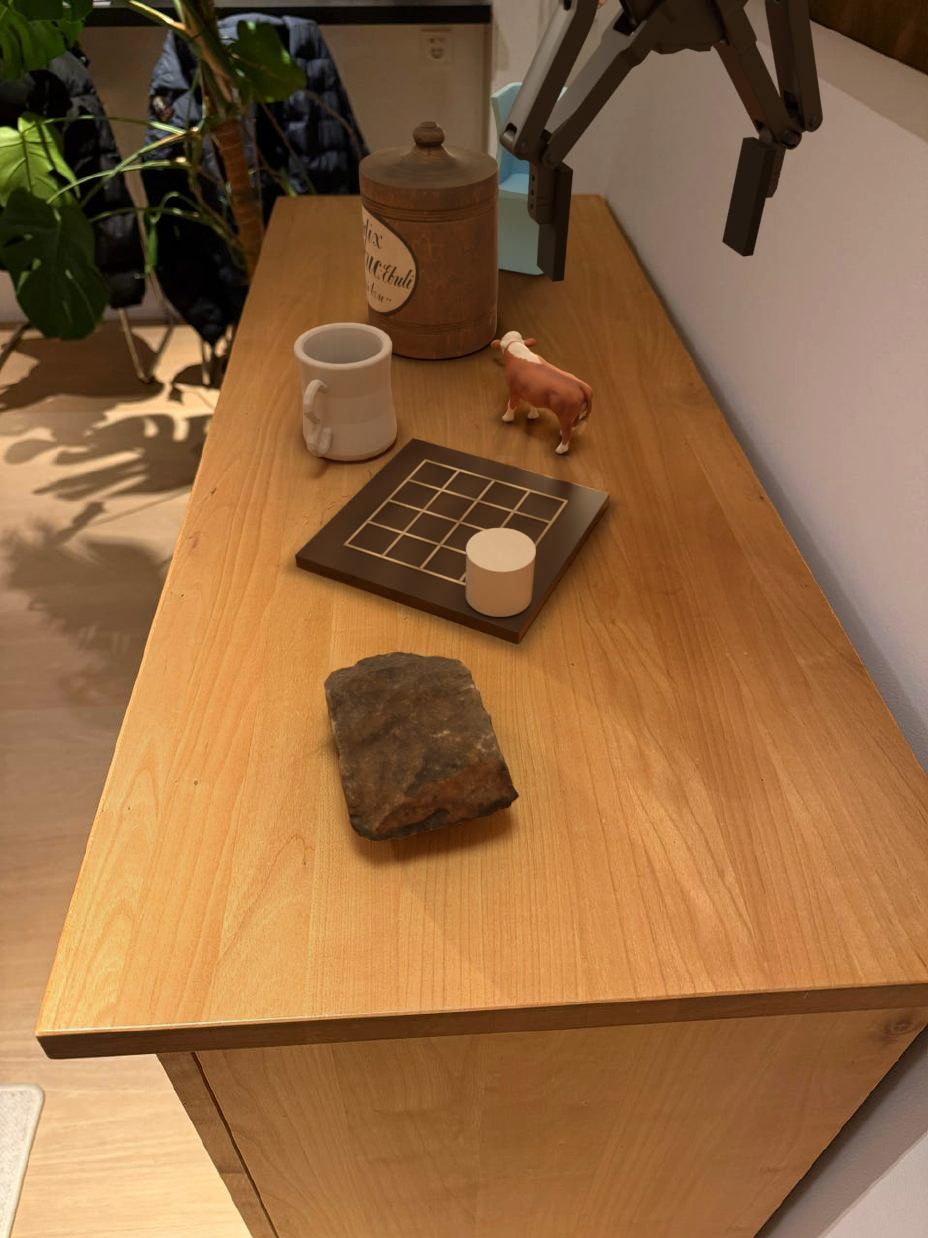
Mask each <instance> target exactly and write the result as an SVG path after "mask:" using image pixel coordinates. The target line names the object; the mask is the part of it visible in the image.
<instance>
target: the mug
mask: <svg viewBox="0 0 928 1238" xmlns="http://www.w3.org/2000/svg"><path fill="white" fill-rule="evenodd" d="M392 354H393V352H392V341H391V339H390V337H389V336H388V335H387V334H386V333H385V332H383V331H382V330H380V329H378V328H376V327H373V326H369V324H365V323H359V322H335V323H328V324H327V323H326V324H323V325H320V326H316V327H314V328H311V329H308V330H307V331H305V332H304V333H302V334H300V335H299V337H297V339H296V340H295V342H294V345H293V355H294V358H295V362H296V366H297V369H298V374H299V378H300V385H301V396H302V435H303V438H304V440H305V444H306V449H307V451H308V452H309V453H310V455H311V456H312V457H315V458H320V457H322V458H326V459H329V460H333V461H339V462H358V461H363V460H367V459H371V458H374V457H376V456H378V455H380V454H382V453H384V452H385V451H386V450H388V449H389V448H390V447H391V446H392V445H393V444H394V443H395V440H396V438H397V434H398V423H397V416H396V411H395V406H394V400H393V390H392V378H391V367H392Z"/></svg>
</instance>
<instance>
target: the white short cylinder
mask: <svg viewBox="0 0 928 1238" xmlns="http://www.w3.org/2000/svg"><path fill="white" fill-rule="evenodd" d="M535 558H536V548H535V545H534V543H533V541H532V540H531V539H530V538H529V537H528V536H526V535H525V534H523V533H521V532H519V531H516V530H513V529H507V528H492V529H487V530H483V531H481V532H479V533H477V534H475V535H474V536H473V537H471V539H470V540H469V541H468V543H467V546H466V584H465V596H466V599H467V601H468V603H469V604H470V606H471V607H472V608H473V609H475V610H476V611H478V612H480V613H482V614H485V615H488V616H494V617H507V616H512V615H515V614H518V613H520V612H522V611H523V610H525V609H526V608H527V607H528V606H529V604H530V602H531V600H532V594H533V582H534V570H535Z"/></svg>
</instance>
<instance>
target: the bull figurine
mask: <svg viewBox="0 0 928 1238" xmlns="http://www.w3.org/2000/svg"><path fill="white" fill-rule="evenodd" d="M535 346H537V340H535V338H532V337H531V338H530V337H529V338H527V339H524V340H523V338H522V334H520V332H518V331H516V330H513V331H508V332H507V333H505V335H504V336H502V338H501V339H495V340H494V339H493V340H492V341H491V342H490V347H491V348H492V350H499V349H501V353H502V354H503V361H504V363H503V364H504V368H505V378H504V379H505V384H506V386H507V388H508V389H509V401H508V403H507V411H506V413H505V414H504V415H503V416H502V417H501V421H502V422H504V423H508V422H511V421H514V420H515V410H516V409H517V407H518V403H519V401H520V400H522V401H523V402H527V404H528V405H530V409H529V412H528V414H527V418H528V419H529V420H533V419H539V417H540V415H539V412H538V411H540V412H545V414H546V416H547V417H548V418H550V417H552V415H553V414H555V416H556V417H557V420H558V422H559V426H560V427H559V428H560V430H559V431H558V435H559V436H560V437H561V442H560V444H559V445H558V447H556V448H555V450H554V451H555V453H556V454H559V455H561V454H564V453H566V452H567V451H569V444H570V440H571V438H572V437H573V435H574V430H575V429H576V433H577V434H578V435H581V434H583V433H584V431H585V430H586V427H587V425H588V422H589V417H590V414H591V412H592V408H593V396H594V391H593V389H592V388H591V386H590V385H589V384H587V383H586V382H584V381H583V380H581V379H579V378H577V377H576V376H575V375H574V374H572V373H569V372H567V371H563V370H561V369H560V368H558V367H556V366H554V365H553V364H551V363H549V362H547V361H546V359H544V358H543V357H542V356H541V355H538V354H536V353H534V352H532V351H531V350H530V349H529V348H533V347H535ZM584 412H586V413H585V414H584V415H583V416H582V417H580V416H581V414H583V413H584Z"/></svg>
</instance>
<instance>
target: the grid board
mask: <svg viewBox="0 0 928 1238" xmlns="http://www.w3.org/2000/svg"><path fill="white" fill-rule="evenodd" d="M610 497H611V493H610V492H606V491H603V490H599V489H595V488H592V487H588V486H585V485H581V484H578V483H574V482H571V481H566V480H563V479H561V478H557V477H553V476H550V475H545V474H542V473H539V472H536V471H532V470H527V469H525V468H522V467H517V466H514V465H511V464H506V463H503V462H500V461H496V460H492V459H489V458H486V457H482V456H478V455H475V454H472V453H468V452H465V451H461V450H458V449H453V448H450V447H447V446H443V445H440V444H436V443H433V442H428V441H426V440H422V439H419V438H415V437H413V438H411V439H410V440H409V441H408V442H407V443H406V444H405V445H404V446H403V447H402V448H401V449H400V450H399V451H398V452H397V453H396V454H395V455H394V456H393V457H391V459H390V460H389V461H388V462H387V463H386V464H385V465H384V466H383V467H382V468H381V469H380V470H379V471H378V472H377V473H376V474H375V475H374V476H373V477H372V478H371V479H370V480H369V481H368V482H367V483H366V484H365V485H364V486H363V487H362V488H361V489H360V490H359V491H358V492H357V493H355V495H354V496H353V497H352V498H350V500H349V501H348V502H346V504H344V506H343V507H341V509H340V510H339V511H338V512H337V513H336V514H335V515H333V517H332V518H331V519H330V520H329V521H327V523H326V524H324V526H323V527H322V528H320V530H319V531H318V532H316V534H314V535H313V537H312V538H310V540H309V541H307V542H306V544H305V545H304V546H303V547H301V548H300V550H298V551H297V552H296V554H294V558H295V565H296V567H297V568H301V569H303V570H307V571H309V572H312V573H315V574H317V575H321V576H324V577H326V578H330V579H332V580H334V581H337V582H341V583H343V584H346V585H349V586H351V587H355V588H357V589H361V590H364V591H366V592H370V593H372V594H374V595H378V596H381V597H384V598H387V599H389V600H392V601H395V602H398V603H400V604H403V605H406V606H410V607H412V608H415V609H418V610H420V611H424V612H426V613H429V614H432V615H436V616H438V617H440V618H444V619H446V620H449V621H451V622H452V621H453V622H455V623H458V624H461V625H464V626H466V627H470V628H473V629H475V630H478V631H481V632H483V633H486V634H488V635H489V634H490V635H492V636H495V637H498V638H501V639H504V640H507V641H510V642H513V643H514V644H519V643H520V642H521V640H522V639H523V637H524V635H526V633H527V632H528V630H529V628H530V626H531V625H532V623H533V621H534V620H535V618H536V617H537V615H538V614H539V612H540V611H541V610H542V607H543V606H544V605H545V603H546V601H547V600H548V599H549V597H550V595H551V594H552V592H553V591H554V589H555V587H556V586H557V585H558V583H559V582H560V580H561V579H562V577H563V576H564V574H565V572H566V570H567V569H568V568H569V566H570V565H571V564H572V562H573V560H574V559H575V557H576V555H577V554H578V552H579V551H580V549H581V548H582V546H583V545H584V543H585V542H586V541H587V538H588V537H589V535H590V534H591V532H592V531H593V529H594V527H595V526H596V524H597V523H598V521H599V520H600V519H601V516H602V515H603V514H604V512H605V510H606V509H607V507H608V506H609V503H610V499H611V498H610ZM492 528H507V529H513V530H516V531H519V532H521V533H523V534H525V535H526V536H528V537H529V538H530V539H531V540H532V541H533V543H534V545H535V548H536V558H535V570H534V582H533V594H532V600H531V602H530V604H529V606H528V607H527V608H526V609H525V610H523V611H522V612H520V613H518V614H515V615H512V616H507V617H494V616H488V615H485V614H482V613H480V612H478V611H476V610H475V609H473V608H472V607H471V606H470V604H469V603H468V601H467V599H466V596H465V584H466V546H467V543H468V541H469V540H470V539H471V537H473V536H474V535H475V534H477V533H479V532H481V531H483V530H487V529H492Z"/></svg>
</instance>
